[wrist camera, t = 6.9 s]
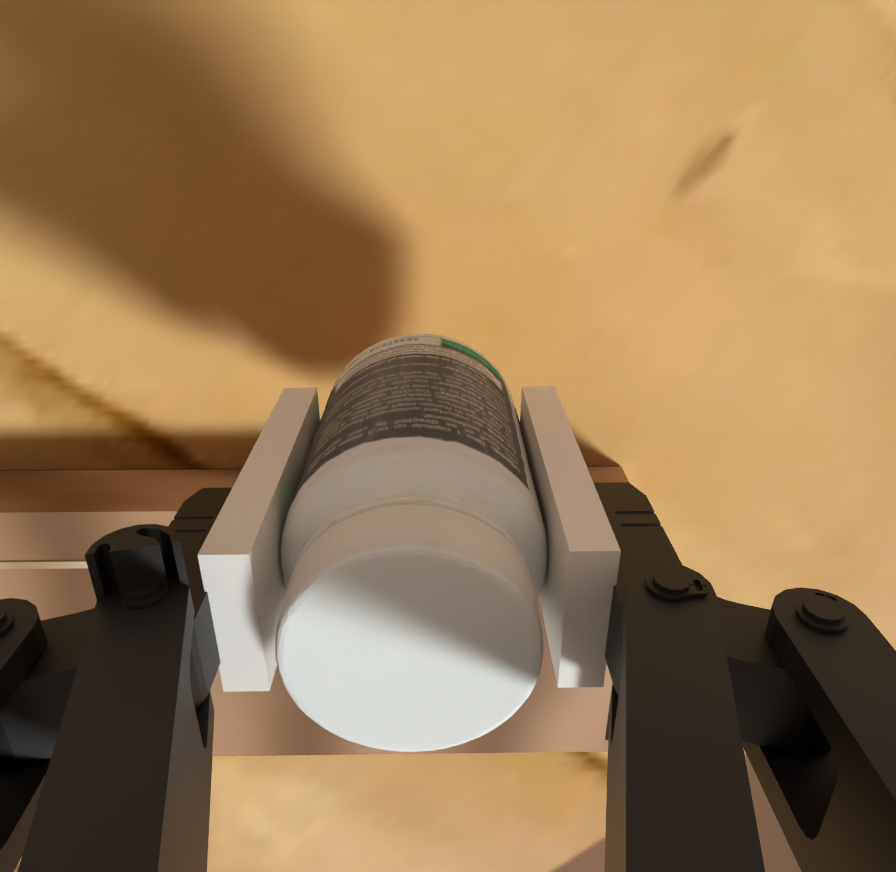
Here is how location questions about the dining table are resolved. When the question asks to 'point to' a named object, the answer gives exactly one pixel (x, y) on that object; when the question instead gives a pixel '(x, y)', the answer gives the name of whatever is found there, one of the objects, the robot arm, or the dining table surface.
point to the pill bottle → (413, 553)
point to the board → (235, 713)
